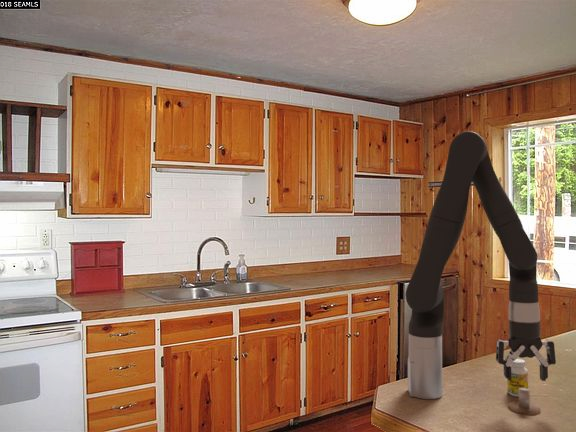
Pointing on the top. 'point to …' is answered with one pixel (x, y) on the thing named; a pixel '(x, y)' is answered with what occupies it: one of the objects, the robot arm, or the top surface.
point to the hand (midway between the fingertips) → (525, 379)
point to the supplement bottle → (518, 377)
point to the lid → (524, 404)
